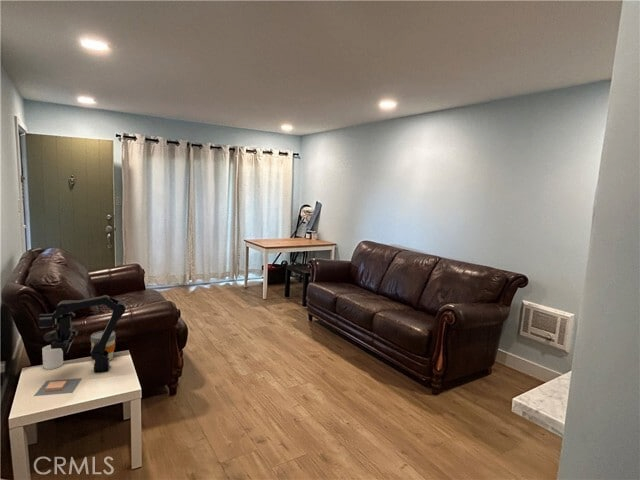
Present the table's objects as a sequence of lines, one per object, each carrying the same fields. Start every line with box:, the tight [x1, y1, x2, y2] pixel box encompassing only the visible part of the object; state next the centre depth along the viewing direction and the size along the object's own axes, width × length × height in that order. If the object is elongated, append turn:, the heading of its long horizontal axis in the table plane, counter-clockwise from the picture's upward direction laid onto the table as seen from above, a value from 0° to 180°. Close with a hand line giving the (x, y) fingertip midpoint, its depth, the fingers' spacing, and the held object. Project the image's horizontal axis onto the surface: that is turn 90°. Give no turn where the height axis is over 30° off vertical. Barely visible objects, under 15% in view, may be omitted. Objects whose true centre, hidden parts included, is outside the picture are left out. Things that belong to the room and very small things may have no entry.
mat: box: [33, 377, 83, 397], centre depth 180 cm, size 16×14×1 cm
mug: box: [41, 344, 64, 370], centre depth 200 cm, size 12×9×11 cm
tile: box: [45, 381, 67, 392], centre depth 179 cm, size 7×2×6 cm
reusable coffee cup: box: [90, 330, 117, 361], centre depth 210 cm, size 13×13×15 cm
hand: (65, 354), depth 190 cm, fingers closed
